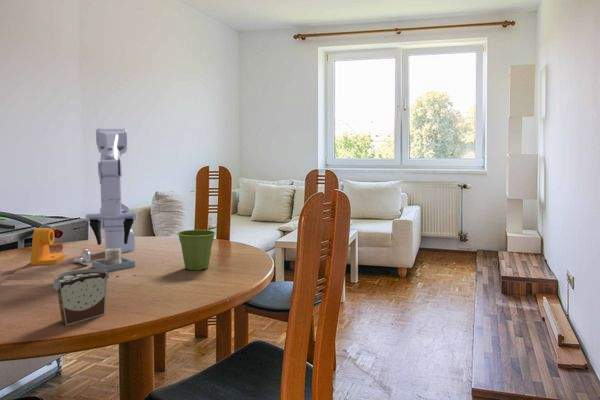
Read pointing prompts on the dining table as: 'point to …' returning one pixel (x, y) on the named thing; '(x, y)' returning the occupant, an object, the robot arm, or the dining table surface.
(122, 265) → the tray
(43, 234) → the bracket
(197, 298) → the dining table surface
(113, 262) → the block
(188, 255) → the plant pot
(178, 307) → the dining table surface
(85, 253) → the crank
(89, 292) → the food container
